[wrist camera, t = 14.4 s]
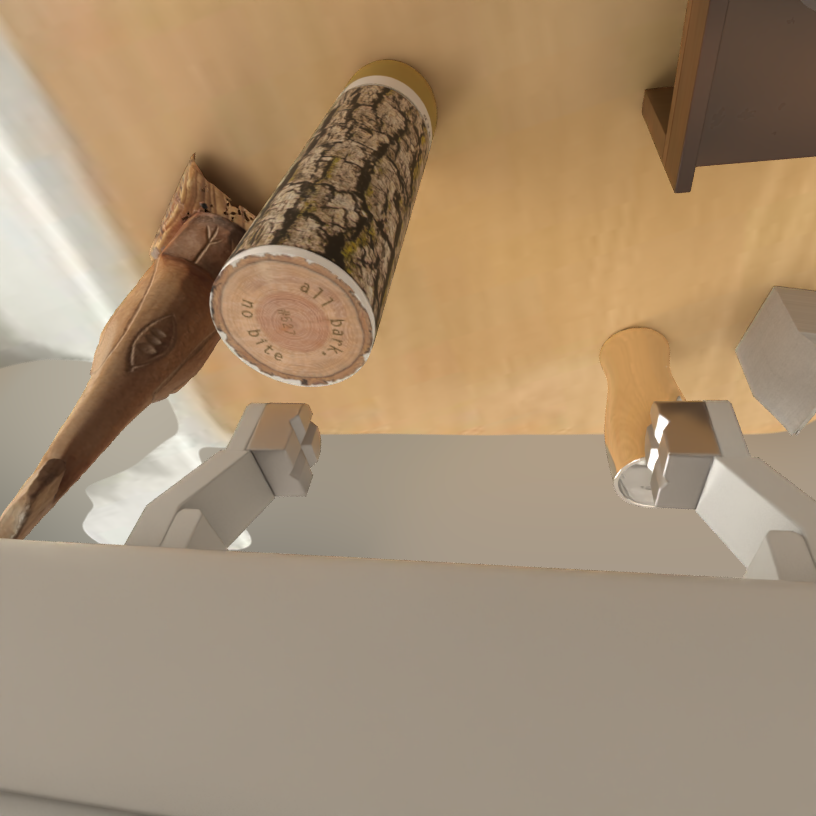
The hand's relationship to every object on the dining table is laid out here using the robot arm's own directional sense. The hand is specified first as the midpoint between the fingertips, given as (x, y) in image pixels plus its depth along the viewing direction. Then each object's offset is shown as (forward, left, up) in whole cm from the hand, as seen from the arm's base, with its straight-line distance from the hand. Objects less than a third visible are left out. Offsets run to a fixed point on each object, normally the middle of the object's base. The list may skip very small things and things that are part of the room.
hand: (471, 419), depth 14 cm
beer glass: (+26, +11, -33) cm, 44 cm away
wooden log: (+3, -8, -33) cm, 34 cm away
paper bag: (+23, +22, -33) cm, 46 cm away
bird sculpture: (+12, -24, -33) cm, 43 cm away
